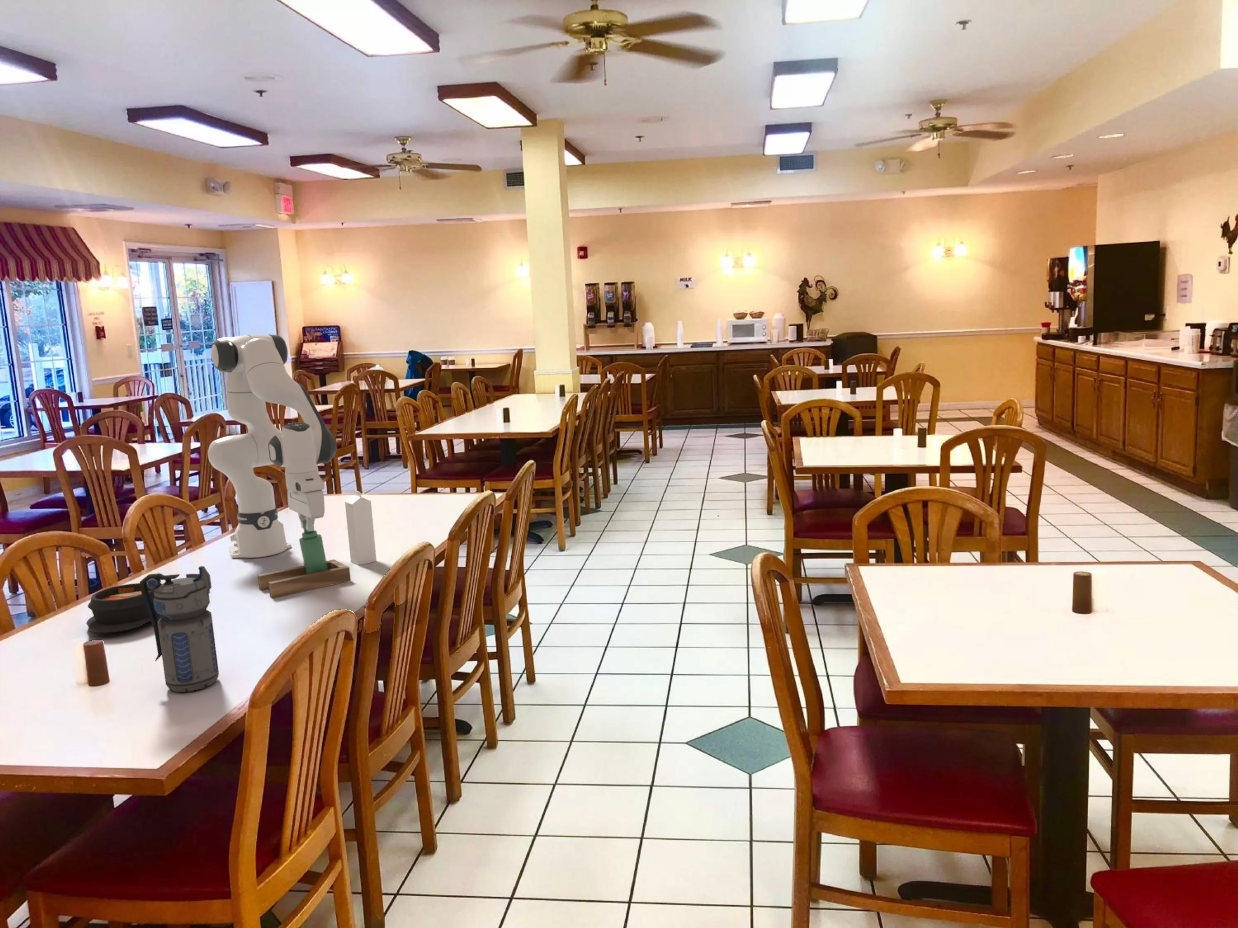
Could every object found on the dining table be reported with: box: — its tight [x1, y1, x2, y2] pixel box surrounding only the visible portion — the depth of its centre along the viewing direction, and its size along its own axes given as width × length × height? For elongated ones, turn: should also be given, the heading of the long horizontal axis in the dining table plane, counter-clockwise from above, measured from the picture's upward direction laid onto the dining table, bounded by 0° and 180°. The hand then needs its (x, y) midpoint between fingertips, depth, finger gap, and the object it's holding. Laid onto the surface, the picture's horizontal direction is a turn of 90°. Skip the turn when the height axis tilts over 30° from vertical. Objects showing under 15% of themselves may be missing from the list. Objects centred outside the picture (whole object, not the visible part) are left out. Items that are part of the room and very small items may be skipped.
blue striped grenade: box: [139, 565, 220, 693], centre depth 192 cm, size 10×13×25 cm
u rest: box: [257, 559, 352, 599], centre depth 264 cm, size 12×22×4 cm, turn 127°
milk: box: [344, 489, 377, 566], centre depth 285 cm, size 6×6×22 cm
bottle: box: [298, 520, 328, 574], centre depth 264 cm, size 6×6×18 cm
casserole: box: [86, 582, 161, 634], centre depth 237 cm, size 25×19×8 cm
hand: (307, 529), depth 263 cm, fingers closed on bottle, 3 cm apart
